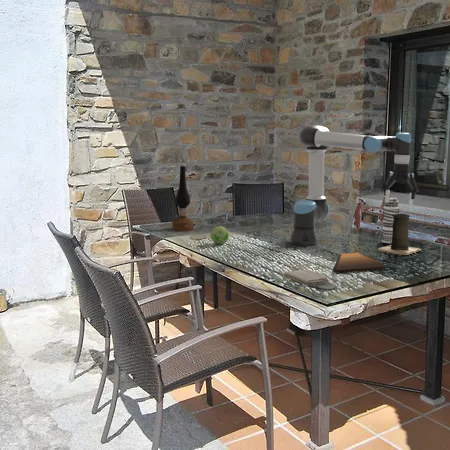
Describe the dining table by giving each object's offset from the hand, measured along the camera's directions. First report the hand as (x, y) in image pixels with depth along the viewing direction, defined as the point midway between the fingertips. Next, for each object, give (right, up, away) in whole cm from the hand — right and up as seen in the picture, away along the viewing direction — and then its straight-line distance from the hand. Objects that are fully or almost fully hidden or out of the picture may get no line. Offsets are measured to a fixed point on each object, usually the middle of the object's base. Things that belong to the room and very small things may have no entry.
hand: (398, 204), depth 298 cm
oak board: (+1, -25, +2) cm, 25 cm away
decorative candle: (+3, -21, +28) cm, 35 cm away
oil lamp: (-117, -14, +59) cm, 132 cm away
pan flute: (-33, -31, -28) cm, 53 cm away
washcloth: (-56, -35, -54) cm, 85 cm away
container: (+1, -23, +2) cm, 24 cm away
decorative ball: (-93, -22, +16) cm, 97 cm away
